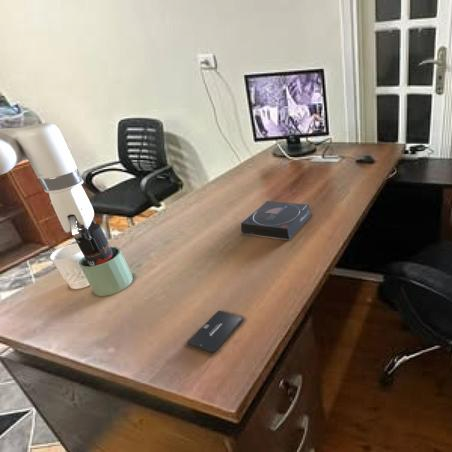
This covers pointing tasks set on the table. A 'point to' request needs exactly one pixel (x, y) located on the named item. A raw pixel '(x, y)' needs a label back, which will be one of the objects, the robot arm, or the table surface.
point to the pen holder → (108, 274)
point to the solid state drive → (215, 332)
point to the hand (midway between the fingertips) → (94, 246)
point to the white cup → (70, 265)
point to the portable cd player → (276, 220)
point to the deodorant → (102, 243)
